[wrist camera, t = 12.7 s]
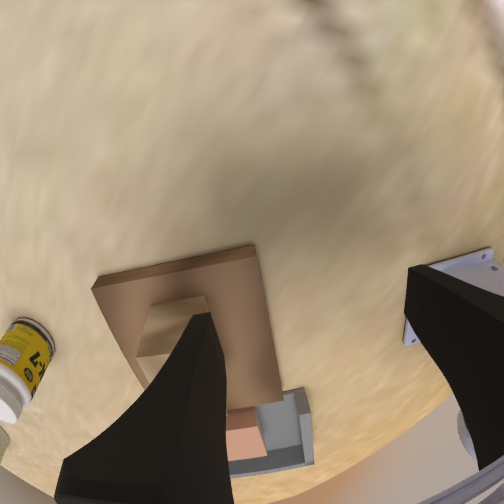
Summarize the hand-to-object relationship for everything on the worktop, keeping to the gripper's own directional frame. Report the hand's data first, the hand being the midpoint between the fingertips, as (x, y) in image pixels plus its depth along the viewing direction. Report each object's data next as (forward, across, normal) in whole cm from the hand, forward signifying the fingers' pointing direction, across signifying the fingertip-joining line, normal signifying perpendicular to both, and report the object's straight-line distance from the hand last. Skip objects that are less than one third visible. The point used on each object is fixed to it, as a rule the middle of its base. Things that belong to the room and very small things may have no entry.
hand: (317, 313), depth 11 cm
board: (+10, +7, +8) cm, 15 cm away
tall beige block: (+8, +7, +6) cm, 13 cm away
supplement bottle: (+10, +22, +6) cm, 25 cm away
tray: (+10, +7, +22) cm, 25 cm away
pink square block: (+10, +7, +19) cm, 22 cm away
